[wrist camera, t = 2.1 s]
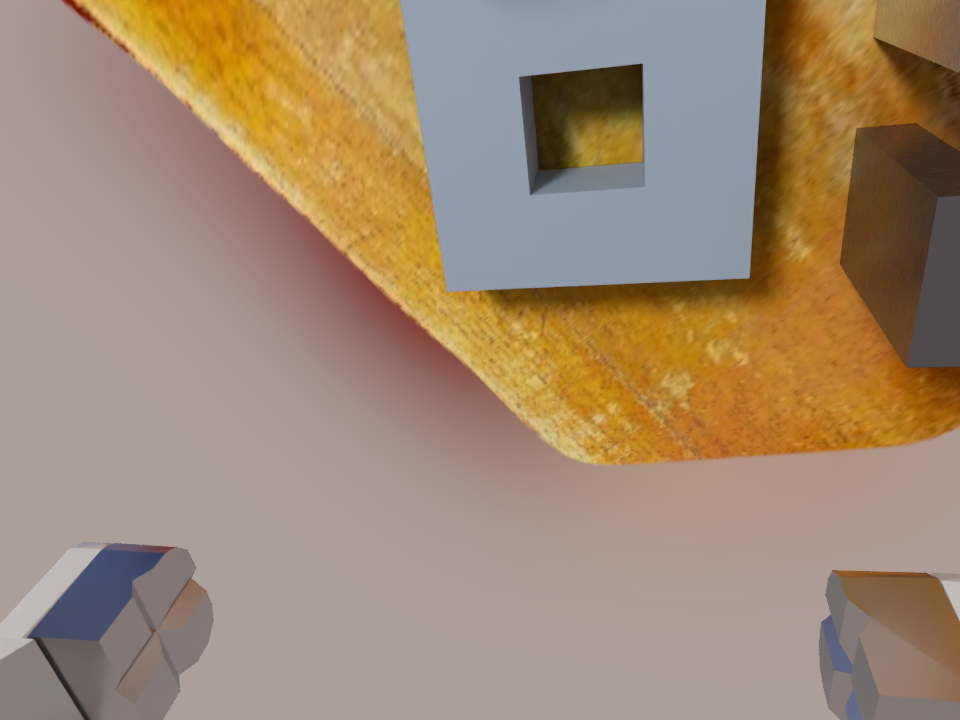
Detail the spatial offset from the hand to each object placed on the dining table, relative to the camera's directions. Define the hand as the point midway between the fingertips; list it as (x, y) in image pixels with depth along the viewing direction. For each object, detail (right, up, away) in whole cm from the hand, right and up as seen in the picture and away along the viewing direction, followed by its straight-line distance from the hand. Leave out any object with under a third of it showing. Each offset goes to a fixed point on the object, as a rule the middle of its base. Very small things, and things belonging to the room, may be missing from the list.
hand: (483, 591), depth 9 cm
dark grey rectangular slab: (+18, +10, +24) cm, 32 cm away
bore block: (+5, +14, +25) cm, 29 cm away
